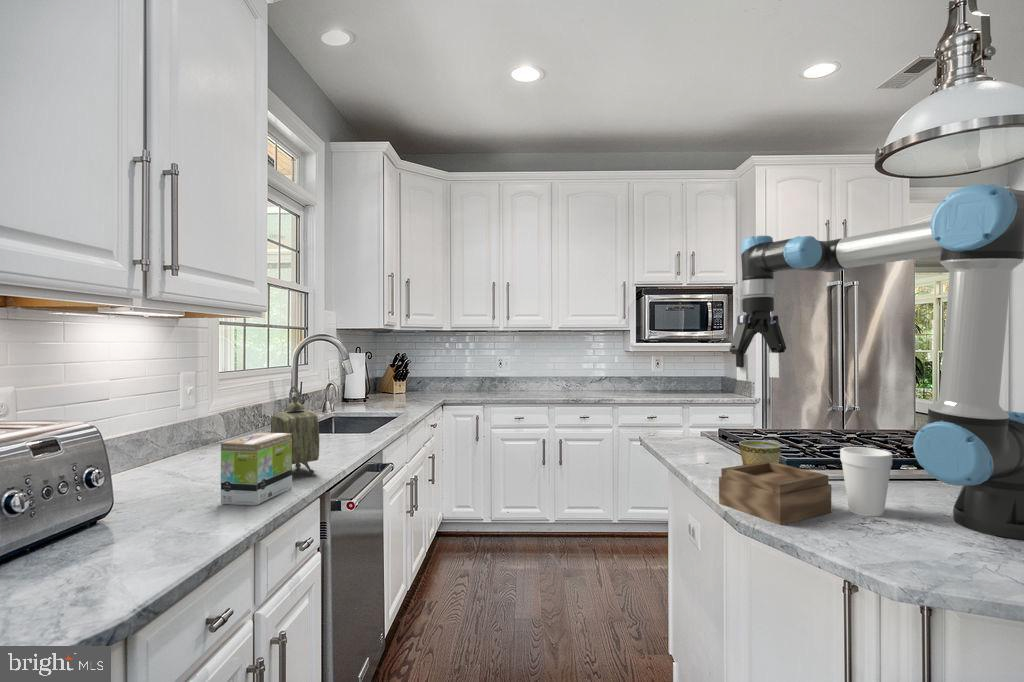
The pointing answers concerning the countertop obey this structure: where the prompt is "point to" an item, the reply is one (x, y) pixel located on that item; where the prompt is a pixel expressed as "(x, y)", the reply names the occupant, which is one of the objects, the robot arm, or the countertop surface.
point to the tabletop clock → (299, 431)
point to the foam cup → (866, 479)
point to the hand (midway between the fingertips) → (759, 378)
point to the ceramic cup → (759, 451)
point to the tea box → (255, 468)
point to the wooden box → (775, 491)
